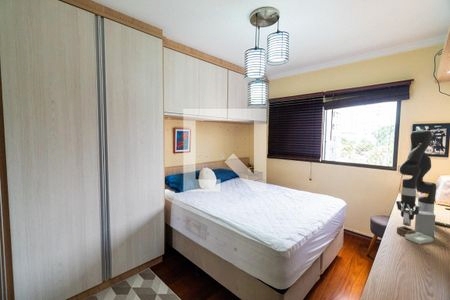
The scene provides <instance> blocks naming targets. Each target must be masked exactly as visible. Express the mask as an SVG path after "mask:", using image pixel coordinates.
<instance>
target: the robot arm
mask: <svg viewBox="0 0 450 300" xmlns="http://www.w3.org/2000/svg"><path fill="white" fill-rule="evenodd" d="M432 140H433V133H432V132H431V131H430V130H415V131H411V133H410V143H411V147H412V150H411V151H410V152H409V153H408V155H407V159H406V160H405V161H404V163H402V165H401V166H400V167H399V173H400V174H401V175H404V176H409V178H408V177H407V178H403V179H402V183H401V185H402V187H401V193H400V200H397V201H396V206H397V210H398V211H400V216H401V217H402V218H403V214H404V212H403V210H409V211H410V220H411V221H413V220H415V216H416V214H418V213H419V211H424V212H431V213H432V214H434V215H435V202H436V195H437V189H438V188H437V184H436V183H435V182H430V181H424V177H425V176H426V174H428V172H429V171H430V170H431V168H432V160H431V157H430V156H429V155H428V154H427V153H426V151H427V149H428V147H429V146H430V144H431V143H432ZM410 176H411V178H410ZM417 193H421V194H427V196H419V197H418V199H416V198H417ZM416 200H417V204H416Z"/></svg>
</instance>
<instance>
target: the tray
mask: <svg viewBox="0 0 450 300" xmlns="http://www.w3.org/2000/svg"><path fill="white" fill-rule="evenodd" d="M404 239H406V240H408V241H410V242H413V243H416V244H417V243H418V245H422V244H428V243H434V237H430V236H427V235H424V234H422V233H419V232H418V233H416V232H415V233H412V234H406V235H405V236H404Z"/></svg>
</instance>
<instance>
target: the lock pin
mask: <svg viewBox="0 0 450 300" xmlns="http://www.w3.org/2000/svg"><path fill="white" fill-rule="evenodd" d="M403 212H404V214H403V217H402V218H403V219H402V225H403V226H405V227H411V223H412V220H410V211H409V210H408V209H405V210H403Z"/></svg>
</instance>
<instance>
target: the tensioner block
mask: <svg viewBox="0 0 450 300" xmlns="http://www.w3.org/2000/svg"><path fill="white" fill-rule="evenodd" d="M396 233H397V234H399V235H402V236H404V237H405V235H406V234H412V233H416V230H415V229H413V228H410V227H409V226H405V225H403V226H397V227H396Z"/></svg>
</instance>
